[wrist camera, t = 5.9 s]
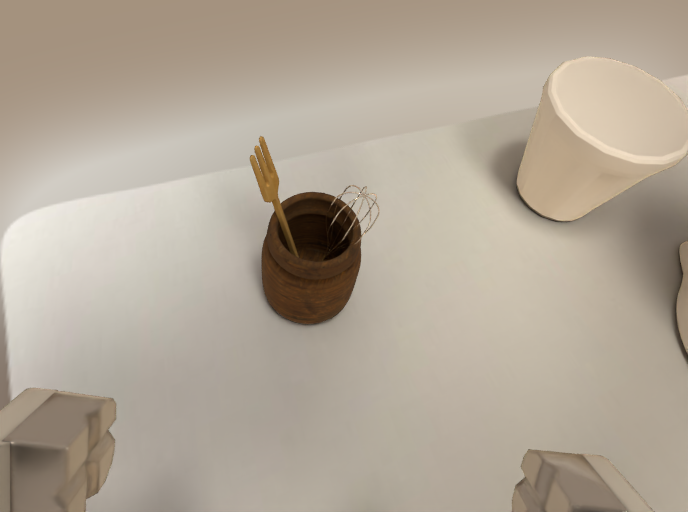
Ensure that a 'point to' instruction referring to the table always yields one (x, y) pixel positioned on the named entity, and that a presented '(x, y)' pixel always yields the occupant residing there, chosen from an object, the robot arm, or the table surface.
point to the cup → (598, 136)
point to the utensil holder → (308, 248)
